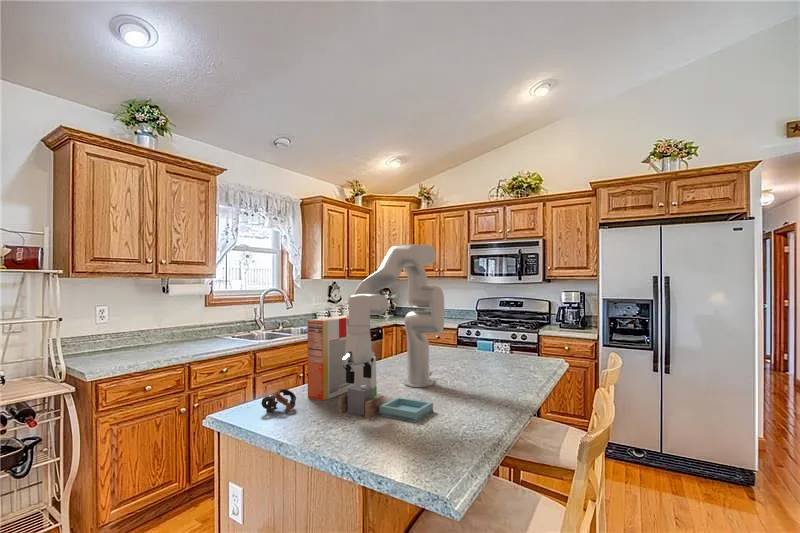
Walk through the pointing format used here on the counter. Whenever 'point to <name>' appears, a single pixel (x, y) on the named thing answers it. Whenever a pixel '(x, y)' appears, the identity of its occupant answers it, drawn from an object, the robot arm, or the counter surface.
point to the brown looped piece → (281, 399)
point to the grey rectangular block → (359, 398)
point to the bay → (370, 405)
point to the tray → (406, 409)
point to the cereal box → (327, 357)
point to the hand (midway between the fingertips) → (358, 380)
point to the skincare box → (367, 381)
